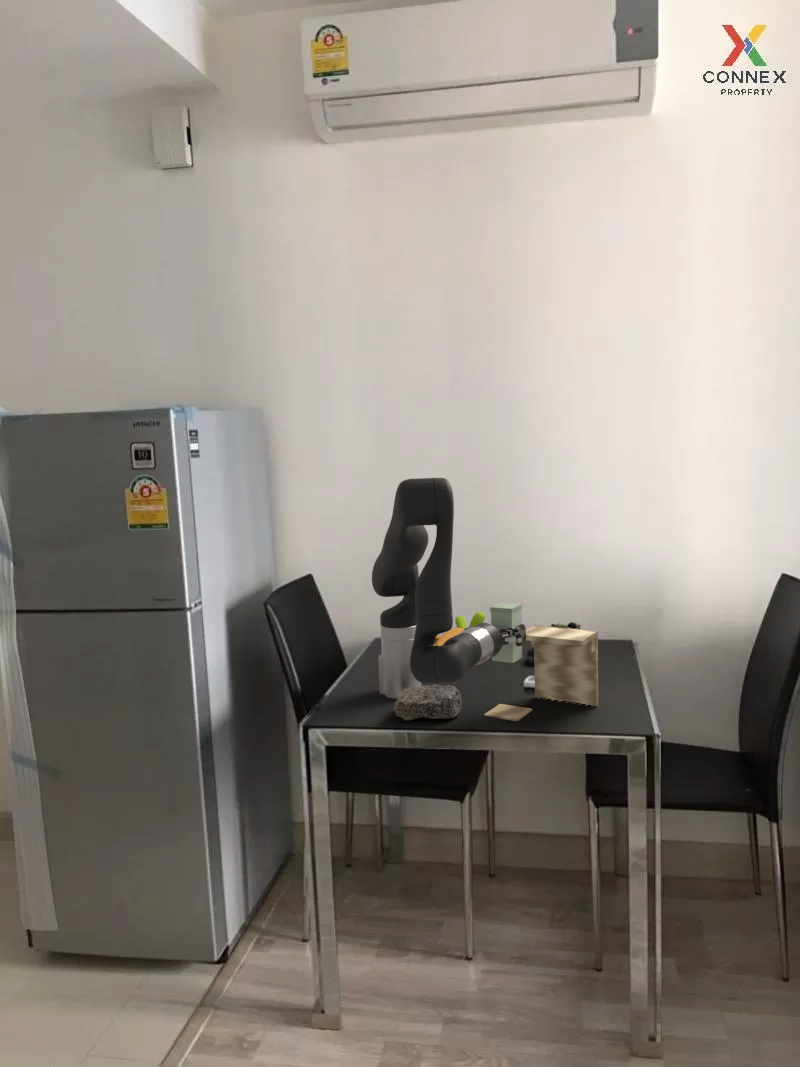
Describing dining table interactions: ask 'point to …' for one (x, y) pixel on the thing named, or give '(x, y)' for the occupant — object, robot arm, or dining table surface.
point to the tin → (503, 618)
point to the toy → (459, 627)
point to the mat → (508, 712)
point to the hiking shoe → (571, 625)
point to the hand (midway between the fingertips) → (511, 627)
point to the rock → (428, 702)
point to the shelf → (565, 663)
